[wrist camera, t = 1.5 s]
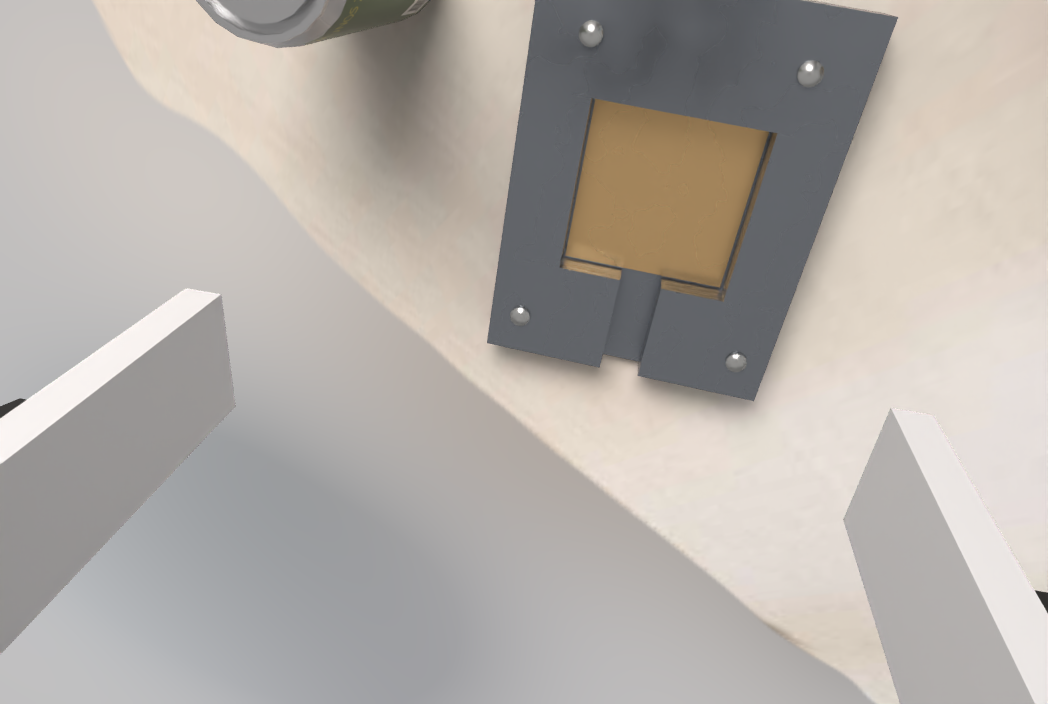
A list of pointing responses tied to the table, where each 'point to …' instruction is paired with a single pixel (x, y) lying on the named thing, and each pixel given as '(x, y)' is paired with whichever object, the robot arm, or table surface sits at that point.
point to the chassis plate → (676, 178)
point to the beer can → (305, 18)
